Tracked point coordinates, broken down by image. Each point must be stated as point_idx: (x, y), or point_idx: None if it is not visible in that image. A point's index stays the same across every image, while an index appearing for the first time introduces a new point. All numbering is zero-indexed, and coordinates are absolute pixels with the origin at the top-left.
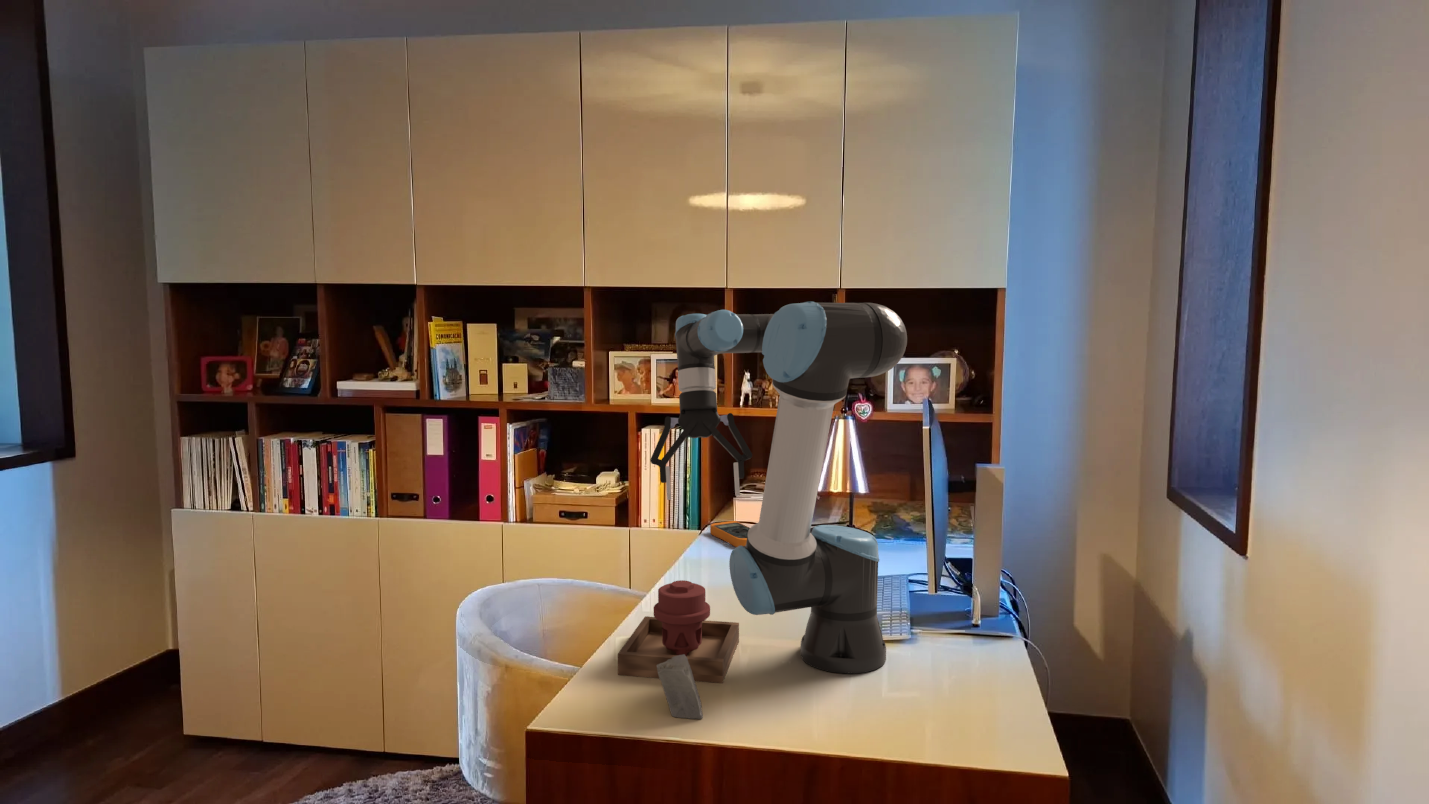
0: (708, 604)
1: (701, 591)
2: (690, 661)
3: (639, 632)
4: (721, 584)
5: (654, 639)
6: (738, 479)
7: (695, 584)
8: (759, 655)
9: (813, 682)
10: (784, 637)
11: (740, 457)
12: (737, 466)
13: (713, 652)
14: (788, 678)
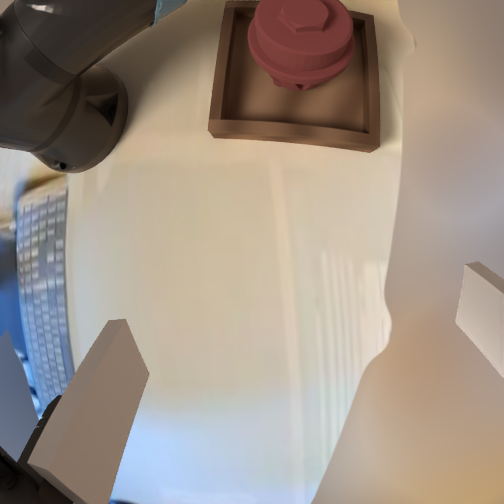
0: (252, 46)
1: (261, 8)
2: None
3: (369, 77)
4: (267, 400)
5: (348, 109)
6: (76, 376)
7: (280, 40)
8: (182, 96)
9: (124, 43)
10: (146, 168)
11: (3, 486)
12: (42, 439)
13: (247, 69)
14: (149, 44)
